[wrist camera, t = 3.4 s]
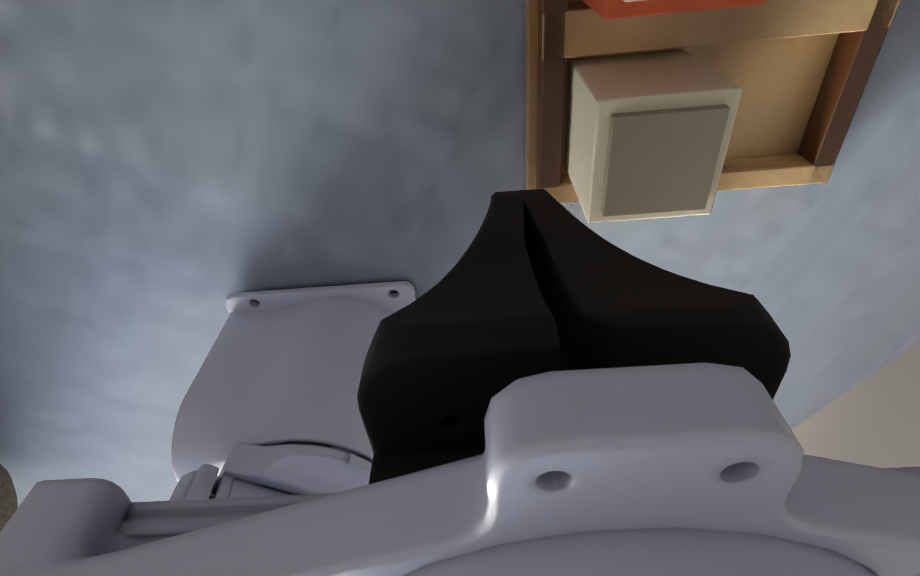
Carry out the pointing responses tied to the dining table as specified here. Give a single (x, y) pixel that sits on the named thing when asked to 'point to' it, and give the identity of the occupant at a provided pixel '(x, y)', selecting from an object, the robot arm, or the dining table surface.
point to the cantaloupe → (6, 497)
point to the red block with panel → (660, 6)
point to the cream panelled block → (647, 134)
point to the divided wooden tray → (734, 56)
